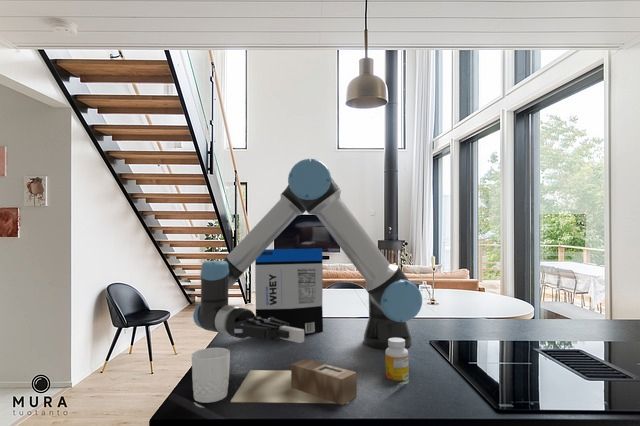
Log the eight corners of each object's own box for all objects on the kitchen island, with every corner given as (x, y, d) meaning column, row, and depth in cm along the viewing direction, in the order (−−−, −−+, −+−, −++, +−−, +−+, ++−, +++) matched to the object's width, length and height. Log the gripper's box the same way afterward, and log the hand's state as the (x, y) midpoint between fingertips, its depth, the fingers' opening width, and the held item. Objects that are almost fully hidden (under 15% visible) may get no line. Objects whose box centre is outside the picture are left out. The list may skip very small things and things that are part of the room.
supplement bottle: (384, 376, 93) (383, 336, 93) (406, 376, 93) (405, 336, 93) (387, 385, 87) (386, 342, 88) (410, 385, 87) (410, 342, 88)
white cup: (196, 394, 83) (196, 348, 84) (232, 392, 84) (232, 347, 85) (186, 410, 76) (187, 359, 76) (226, 409, 76) (227, 358, 77)
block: (291, 363, 84) (342, 378, 75) (306, 358, 88) (356, 371, 79) (291, 387, 84) (342, 405, 75) (306, 380, 88) (356, 396, 79)
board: (346, 375, 94) (346, 371, 94) (348, 409, 76) (348, 403, 76) (250, 375, 95) (250, 370, 95) (230, 407, 77) (230, 401, 77)
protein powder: (326, 334, 132) (325, 248, 134) (256, 339, 127) (256, 250, 129) (319, 328, 142) (319, 248, 143) (254, 332, 136) (254, 249, 138)
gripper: (255, 331, 105) (320, 346, 90) (215, 341, 95) (281, 360, 80) (255, 304, 106) (320, 314, 91) (215, 311, 96) (281, 324, 81)
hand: (302, 336), depth 86 cm, fingers closed
